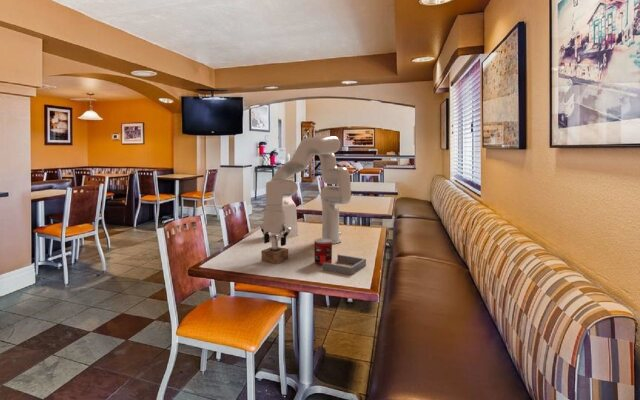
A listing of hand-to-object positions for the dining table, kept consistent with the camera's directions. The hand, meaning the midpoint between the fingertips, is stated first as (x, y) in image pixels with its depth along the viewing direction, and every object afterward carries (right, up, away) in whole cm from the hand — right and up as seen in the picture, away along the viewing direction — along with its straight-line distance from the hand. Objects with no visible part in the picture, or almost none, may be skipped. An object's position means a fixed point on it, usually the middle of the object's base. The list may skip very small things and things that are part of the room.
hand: (275, 244), depth 173 cm
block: (0, -8, +1) cm, 8 cm away
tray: (+32, -9, -10) cm, 35 cm away
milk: (-1, -1, +51) cm, 51 cm away
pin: (0, -8, +1) cm, 8 cm away
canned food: (+23, -9, -4) cm, 24 cm away
